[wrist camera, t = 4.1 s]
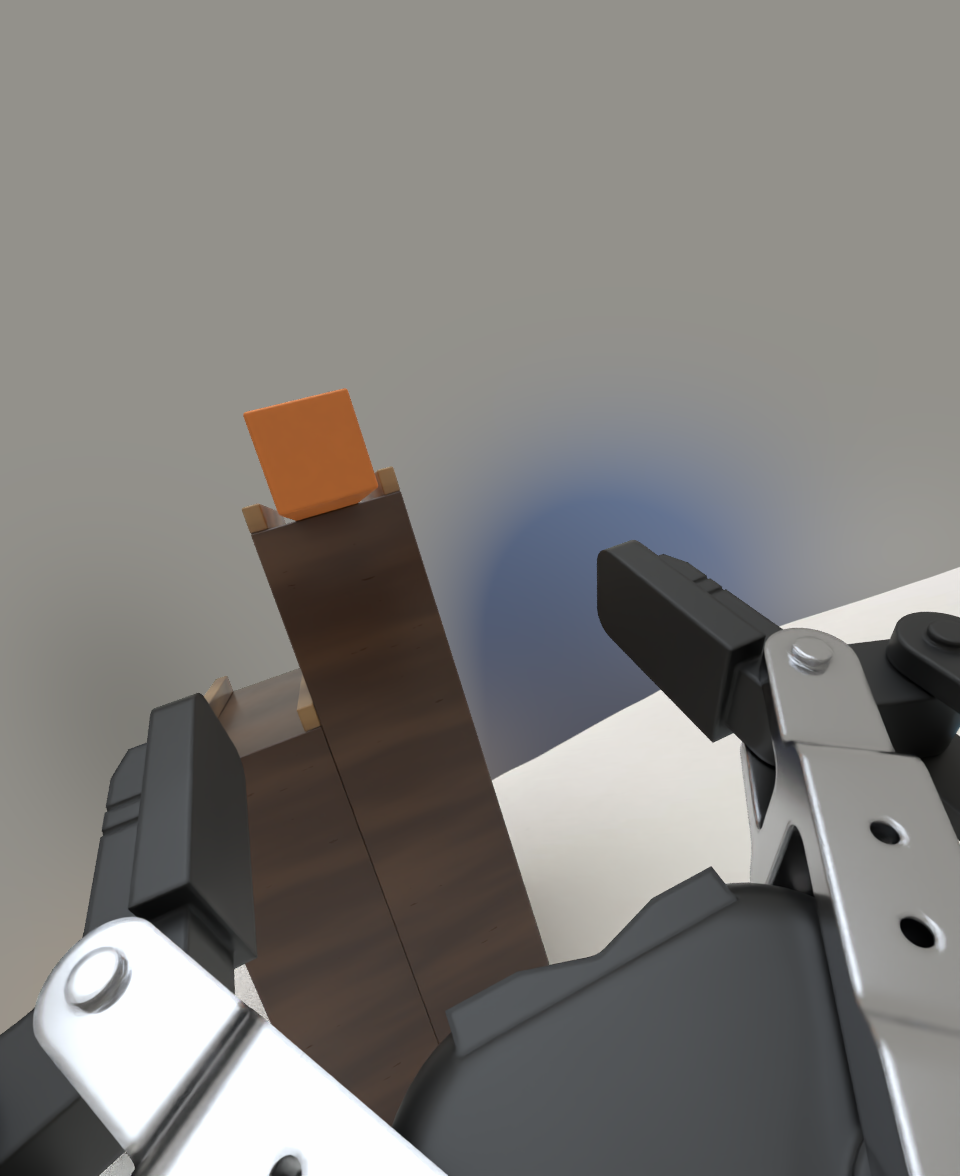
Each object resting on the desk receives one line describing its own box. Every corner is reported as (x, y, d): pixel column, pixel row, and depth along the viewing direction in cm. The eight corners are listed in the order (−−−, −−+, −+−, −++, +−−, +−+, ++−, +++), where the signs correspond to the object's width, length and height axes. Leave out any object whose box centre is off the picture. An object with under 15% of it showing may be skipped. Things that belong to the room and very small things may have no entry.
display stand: (570, 1031, 32) (392, 465, 26) (332, 1166, 29) (67, 556, 23) (497, 882, 45) (369, 487, 39) (329, 963, 42) (162, 546, 36)
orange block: (379, 487, 17) (347, 387, 16) (279, 516, 16) (241, 412, 15) (346, 512, 41) (332, 472, 40) (305, 524, 40) (291, 483, 39)
